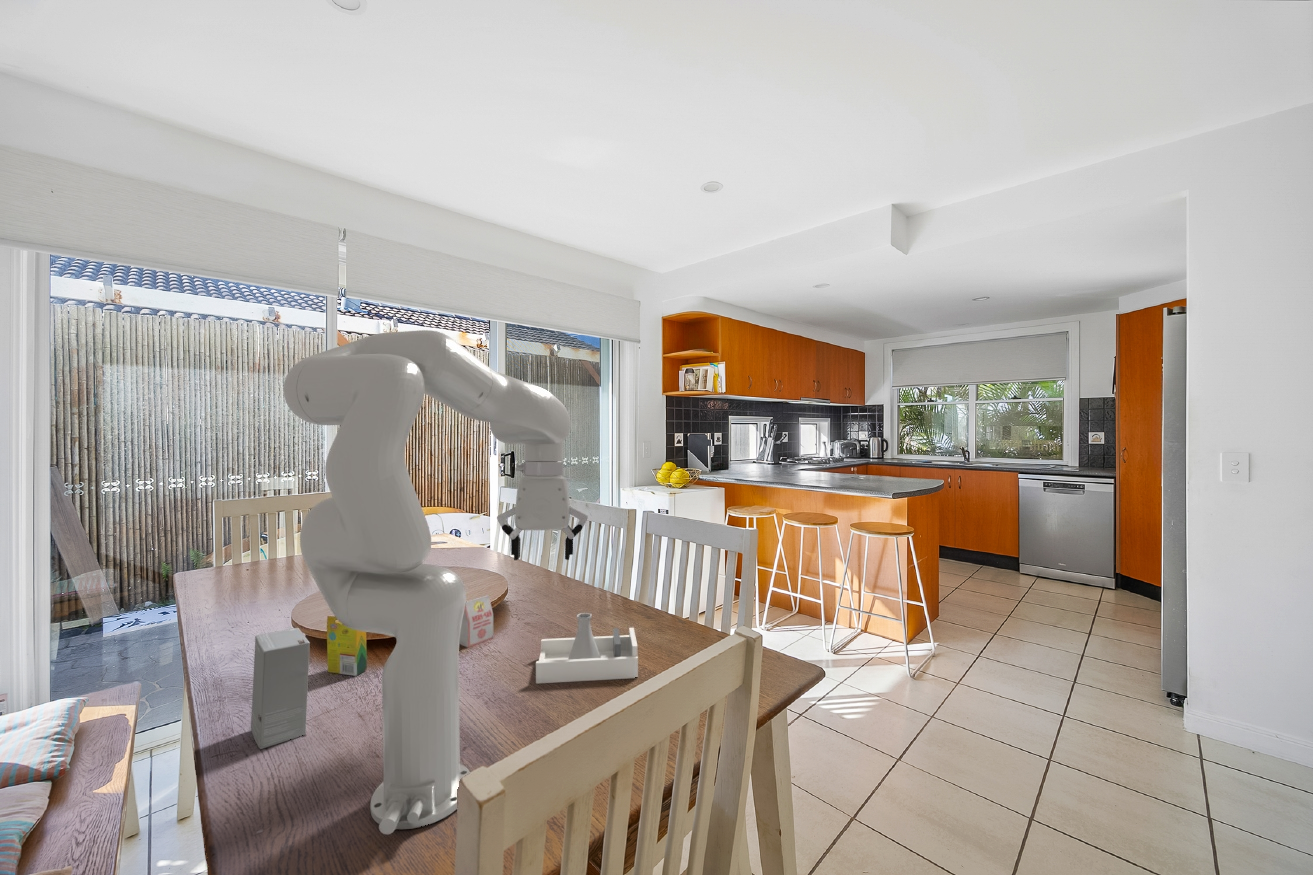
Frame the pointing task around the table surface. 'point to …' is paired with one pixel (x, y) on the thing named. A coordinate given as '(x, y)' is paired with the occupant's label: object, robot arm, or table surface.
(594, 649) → the flask
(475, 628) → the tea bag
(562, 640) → the tray
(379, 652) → the table surface
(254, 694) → the skincare box
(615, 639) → the pusher
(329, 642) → the crayon box
